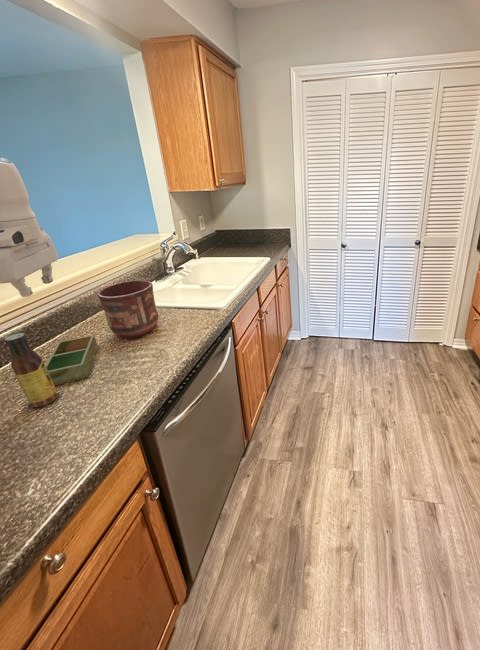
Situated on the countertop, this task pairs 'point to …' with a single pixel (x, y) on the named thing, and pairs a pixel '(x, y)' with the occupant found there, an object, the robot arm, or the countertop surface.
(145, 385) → the countertop surface
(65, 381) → the green shallow open box
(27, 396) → the sauce bottle
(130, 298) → the pottery
